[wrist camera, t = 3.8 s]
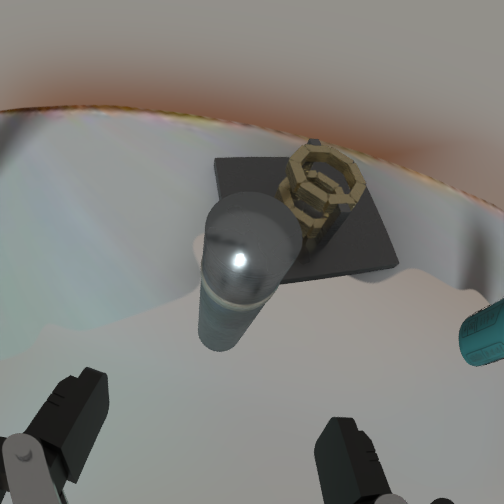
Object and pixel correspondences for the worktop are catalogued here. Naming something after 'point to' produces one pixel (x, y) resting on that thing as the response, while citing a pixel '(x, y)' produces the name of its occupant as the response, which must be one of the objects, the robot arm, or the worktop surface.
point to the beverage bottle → (483, 336)
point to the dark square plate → (317, 209)
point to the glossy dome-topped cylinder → (243, 263)
